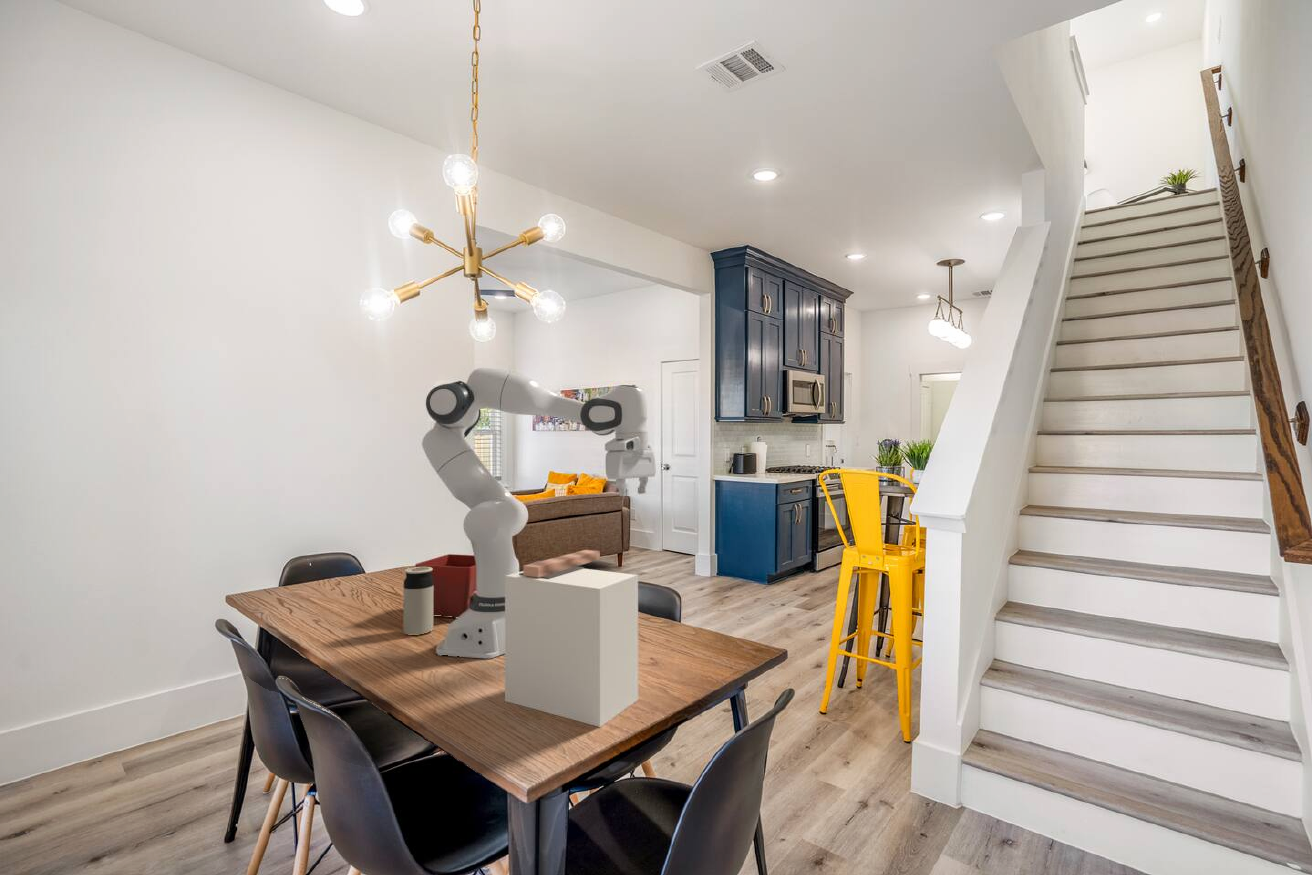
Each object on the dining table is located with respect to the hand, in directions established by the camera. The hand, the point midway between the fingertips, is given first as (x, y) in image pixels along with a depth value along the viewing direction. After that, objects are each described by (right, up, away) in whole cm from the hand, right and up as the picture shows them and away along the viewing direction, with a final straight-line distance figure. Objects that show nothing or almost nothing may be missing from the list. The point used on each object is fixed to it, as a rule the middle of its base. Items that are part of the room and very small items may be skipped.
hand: (632, 494), depth 163 cm
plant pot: (-57, -41, +28) cm, 76 cm away
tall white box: (-11, -39, -38) cm, 56 cm away
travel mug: (-62, -40, +8) cm, 74 cm away
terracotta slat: (-14, -13, -31) cm, 36 cm away
